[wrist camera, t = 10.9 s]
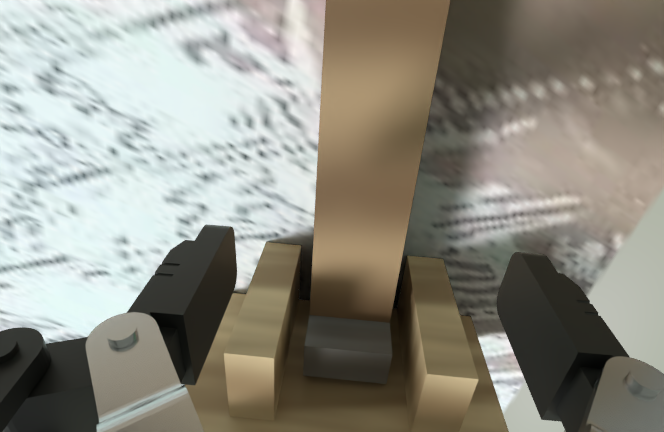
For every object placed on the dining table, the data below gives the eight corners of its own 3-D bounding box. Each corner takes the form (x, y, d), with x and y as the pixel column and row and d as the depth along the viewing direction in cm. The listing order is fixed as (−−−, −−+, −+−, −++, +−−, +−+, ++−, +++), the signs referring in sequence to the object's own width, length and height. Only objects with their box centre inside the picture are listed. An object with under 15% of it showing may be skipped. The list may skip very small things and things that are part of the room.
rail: (337, -66, 16) (324, -94, 10) (441, -59, 15) (481, -83, 10) (315, 293, 24) (302, 375, 19) (381, 299, 24) (386, 384, 19)
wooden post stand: (222, 237, 23) (4, 624, 9) (487, 263, 22) (690, 707, 9) (229, 318, 26) (73, 700, 12) (462, 342, 26) (581, 764, 12)
